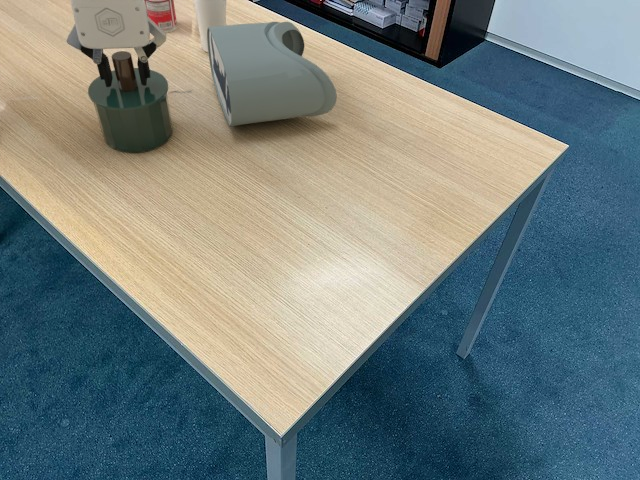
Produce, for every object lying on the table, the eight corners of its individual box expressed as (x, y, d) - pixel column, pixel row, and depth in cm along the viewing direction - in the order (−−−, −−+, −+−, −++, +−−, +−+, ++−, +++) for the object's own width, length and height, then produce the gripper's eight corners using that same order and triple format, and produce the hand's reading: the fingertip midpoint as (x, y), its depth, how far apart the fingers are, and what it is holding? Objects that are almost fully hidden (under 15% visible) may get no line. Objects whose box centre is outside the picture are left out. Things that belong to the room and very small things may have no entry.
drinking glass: (213, 38, 121) (206, -33, 110) (236, 48, 119) (232, -24, 108) (191, 49, 117) (182, -23, 106) (215, 59, 115) (208, -14, 104)
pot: (100, 155, 91) (87, 111, 85) (107, 116, 99) (96, 73, 92) (171, 151, 92) (164, 107, 86) (173, 112, 100) (166, 70, 94)
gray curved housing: (210, 78, 109) (204, 15, 100) (301, 68, 114) (303, 7, 105) (233, 142, 95) (228, 75, 86) (336, 127, 100) (341, 62, 90)
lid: (84, 116, 85) (73, 77, 80) (94, 74, 93) (84, 37, 88) (167, 112, 86) (161, 74, 82) (169, 72, 95) (164, 35, 90)
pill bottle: (161, 21, 126) (153, -30, 118) (183, 27, 124) (176, -23, 116) (143, 31, 122) (134, -20, 114) (166, 38, 120) (157, -14, 112)
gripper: (29, -26, 71) (68, 96, 85) (162, -27, 74) (180, 92, 87) (40, -46, 77) (75, 72, 90) (164, -47, 79) (181, 68, 92)
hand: (127, 81), depth 88 cm, fingers open, 4 cm apart
